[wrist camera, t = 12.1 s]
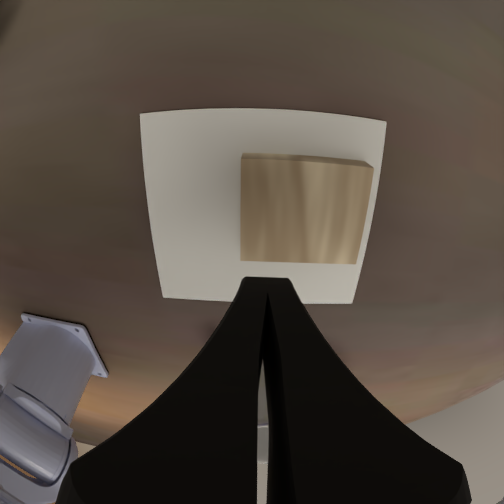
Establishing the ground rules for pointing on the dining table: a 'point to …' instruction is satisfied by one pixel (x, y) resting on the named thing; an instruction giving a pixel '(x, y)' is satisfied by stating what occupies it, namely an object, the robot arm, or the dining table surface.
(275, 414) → the robot arm
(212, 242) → the mat
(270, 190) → the wooden block
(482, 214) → the dining table surface
